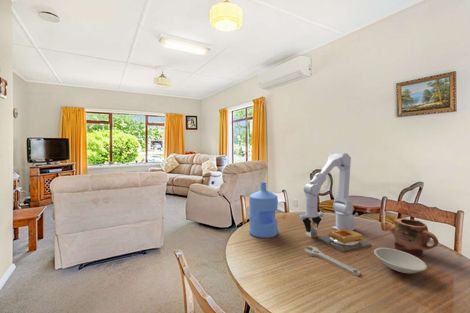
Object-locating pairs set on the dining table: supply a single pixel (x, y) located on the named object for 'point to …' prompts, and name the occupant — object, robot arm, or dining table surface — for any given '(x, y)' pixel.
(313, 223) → the rectangular block
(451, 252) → the dining table surface
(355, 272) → the adjustable wrench
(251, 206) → the water jug
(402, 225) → the brown ceramic rounded pot
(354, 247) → the bracket rosette
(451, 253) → the dining table surface
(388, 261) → the dish
